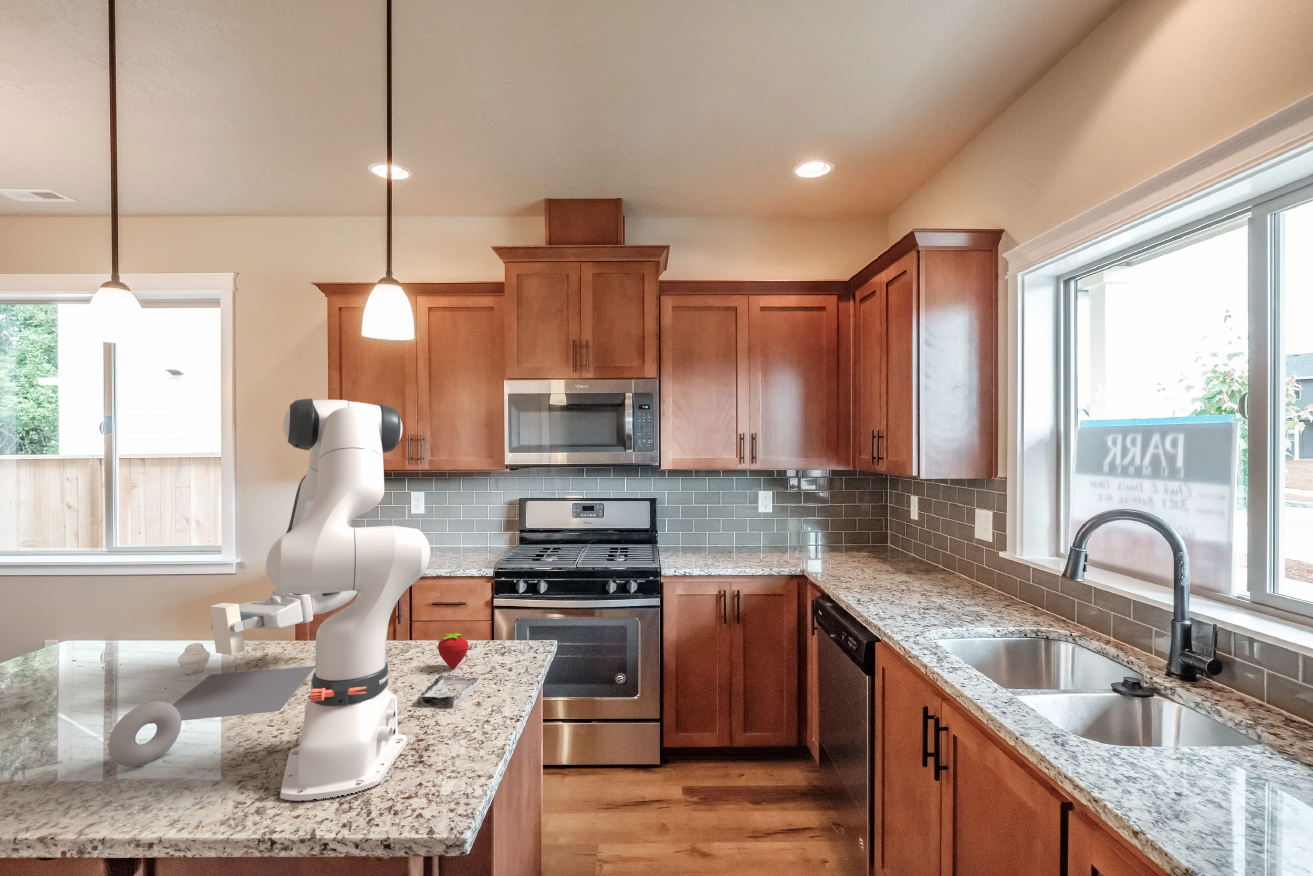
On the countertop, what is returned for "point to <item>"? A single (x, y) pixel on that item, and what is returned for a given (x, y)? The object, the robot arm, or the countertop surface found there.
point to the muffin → (194, 659)
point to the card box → (226, 628)
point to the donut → (127, 728)
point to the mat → (241, 693)
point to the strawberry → (453, 649)
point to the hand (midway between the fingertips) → (222, 627)
